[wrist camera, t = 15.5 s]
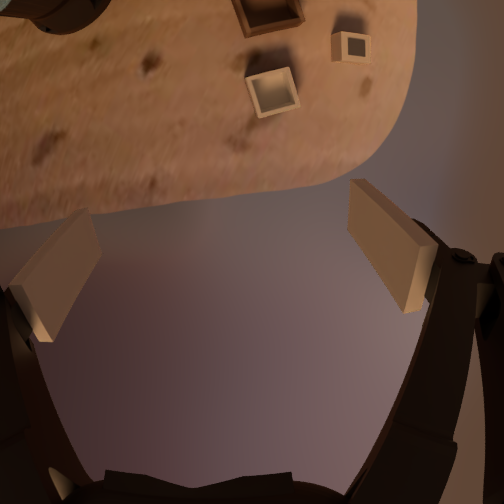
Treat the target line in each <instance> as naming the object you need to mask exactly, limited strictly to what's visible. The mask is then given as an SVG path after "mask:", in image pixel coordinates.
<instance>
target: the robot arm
mask: <svg viewBox="0 0 504 504" xmlns="http://www.w3.org/2000/svg"><path fill="white" fill-rule="evenodd" d="M110 1H111V0H0V16H6V17H16V18H25V19H30V21H31V22H32V23H33V24H34V25H35V26H36V27H37V28H38V29H40V30H41V31H43V32H46V33H49V34H55V35H66V34H71V33H74V32H77V31H79V30H81V29H83V28H85V27H86V26H88V25H89V24H91V23H92V22H93V21H94V20H96V19H97V18H98V17H99V16H100V15H101V14H102V13H103V11H104V10H105V9H106V7H107V6H108V5H109V3H110ZM347 229H348V231H349V233H350V234H351V235H352V237H353V238H354V239H355V241H356V242H357V244H358V245H359V247H360V248H361V250H362V251H363V253H364V254H365V256H366V257H367V258H368V260H369V261H370V263H371V264H372V266H373V267H374V269H375V270H376V272H377V273H378V275H379V276H380V278H381V279H382V281H383V282H384V284H385V285H386V287H387V289H388V290H389V291H390V293H391V295H392V296H393V298H394V300H395V301H396V303H397V304H398V306H399V308H400V309H401V311H402V312H403V314H404V313H409V312H414V311H418V310H421V307H422V304H423V301H424V297H425V298H426V299H427V300H428V302H429V303H430V305H429V308H428V311H427V313H426V317H425V319H424V322H423V325H422V330H421V333H420V337H419V339H418V343H417V345H416V348H415V352H414V354H413V357H412V360H411V362H410V365H409V368H408V371H407V373H406V376H405V378H404V381H403V383H402V385H401V388H400V390H399V393H398V395H397V398H396V400H395V402H394V404H393V407H392V409H391V411H390V413H389V416H388V418H387V420H386V422H385V424H384V426H383V428H382V430H381V432H380V434H379V437H378V438H377V440H376V442H375V444H374V446H373V448H372V450H371V452H370V454H369V455H368V457H367V459H366V461H365V463H364V464H363V466H362V468H361V469H360V471H359V473H358V474H357V476H356V477H355V479H354V481H353V482H352V484H351V485H350V487H349V488H348V490H347V492H346V493H345V495H342V494H340V493H338V492H336V491H334V490H331V489H329V488H327V487H324V486H320V485H317V484H313V483H307V482H300V481H293V479H292V473H291V472H285V473H277V474H269V475H268V474H267V475H256V476H242V477H239V478H235V479H232V480H228V481H224V482H220V483H216V484H212V485H207V486H203V487H199V488H187V487H184V486H180V485H176V484H173V483H169V482H166V481H163V480H160V479H156V478H153V477H150V476H148V475H143V474H132V473H125V472H118V471H111V470H106V471H105V476H104V480H100V481H95V482H94V481H93V480H92V479H91V478H90V477H89V476H88V474H87V473H86V472H85V470H84V468H83V466H82V464H81V463H80V461H79V459H78V457H77V455H76V453H75V451H74V449H73V447H72V445H71V443H70V441H69V438H68V436H67V434H66V432H65V430H64V428H63V425H62V423H61V421H60V418H59V416H58V414H57V411H56V409H55V407H54V404H53V401H52V399H51V396H50V393H49V391H48V388H47V385H46V382H45V380H44V377H43V374H42V371H41V368H40V365H39V361H38V358H37V355H36V352H35V348H34V344H33V343H32V341H31V339H30V338H29V336H30V334H31V332H32V331H33V332H34V334H35V335H36V337H37V338H38V340H39V341H40V342H53V341H54V339H55V337H56V335H57V333H58V331H59V329H60V328H61V326H62V324H63V322H64V320H65V318H66V316H67V314H68V312H69V310H70V309H71V306H72V305H73V303H74V301H75V299H76V298H77V296H78V294H79V292H80V291H81V289H82V287H83V285H84V284H85V282H86V280H87V278H88V277H89V275H90V273H91V272H92V270H93V268H94V267H95V265H96V263H97V262H98V260H99V259H100V257H101V255H102V252H101V249H100V246H99V243H98V240H97V237H96V233H95V230H94V227H93V224H92V220H91V217H90V213H89V210H88V208H83V209H78V210H75V211H74V212H73V213H72V214H71V215H70V216H69V217H68V218H67V219H66V220H65V221H64V223H62V225H60V227H59V228H58V229H57V230H56V231H55V232H54V233H53V234H52V235H51V236H50V237H49V238H48V239H47V240H46V241H45V243H44V244H43V245H42V246H41V247H40V248H39V249H38V250H37V252H36V253H35V254H34V255H33V256H32V257H31V258H30V260H29V261H28V262H27V263H26V264H25V265H24V267H23V268H22V269H21V270H20V271H19V273H18V274H17V275H16V276H15V278H14V279H13V280H12V281H11V283H10V284H9V285H8V288H7V289H6V291H5V292H3V290H2V288H1V286H0V504H438V503H439V501H440V499H441V496H442V494H443V491H444V489H445V486H446V483H447V481H448V478H449V475H450V472H451V470H452V467H453V464H454V461H455V457H456V453H457V443H456V442H454V441H453V434H454V431H455V427H456V423H457V420H458V416H459V412H460V408H461V404H462V399H463V395H464V391H465V386H466V381H467V375H468V370H469V364H470V358H471V351H472V344H473V335H474V329H475V334H476V339H477V346H478V351H479V359H480V366H481V375H482V384H483V396H484V411H485V470H484V471H485V472H484V486H483V487H484V488H483V504H504V253H499V252H498V253H495V254H494V255H493V257H492V260H491V263H490V264H482V263H478V262H477V259H476V258H475V256H474V255H472V254H471V253H469V252H468V251H465V250H463V249H458V248H449V247H448V246H447V245H446V244H445V243H444V242H443V241H442V240H441V239H440V238H439V237H438V236H436V235H435V234H434V233H433V232H432V231H430V229H429V228H428V227H427V226H425V225H424V224H423V223H421V222H419V221H417V220H416V219H411V218H410V217H409V216H408V215H406V214H405V213H404V212H403V211H402V210H401V209H400V208H398V207H397V206H396V205H395V204H394V203H393V202H392V201H391V200H389V199H388V198H387V197H386V196H385V195H384V194H382V193H381V192H380V191H379V190H378V189H376V188H375V187H374V186H373V185H371V184H370V183H369V182H368V181H367V180H365V179H350V197H349V214H348V228H347Z"/></svg>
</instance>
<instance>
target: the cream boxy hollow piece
mask: <svg viewBox="0 0 504 504" xmlns="http://www.w3.org/2000/svg"><path fill="white" fill-rule="evenodd" d="M331 52H332V62H340V63H350V64H358V65H360V64H371V36H370V35H364V34H358V33H352V32H343V31H340V32H338V33H335V34H332V35H331Z"/></svg>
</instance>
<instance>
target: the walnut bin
mask: <svg viewBox="0 0 504 504" xmlns="http://www.w3.org/2000/svg"><path fill="white" fill-rule="evenodd" d="M231 1H232V4H233V7H234V9H235V12H236V15H237V17H238V20H239V23H240V26H241V29H242V31H243V34H244V37H245V38H249V37H253V36H257V35H261V34H265V33H269V32H274V31H278V30H283V29H288V28H293V27H298V26H299V25H301V24H302V23H303V22H305V18H304V15H303V12H302V9H301V6H300V4H299V1H298V0H231Z"/></svg>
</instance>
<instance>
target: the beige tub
mask: <svg viewBox="0 0 504 504" xmlns="http://www.w3.org/2000/svg"><path fill="white" fill-rule="evenodd" d="M244 80H245V83H246V86H247V89H248V92H249V95H250V98H251V101H252V104H253V108H254V111H255V114H256V116H257V117H258V118H262V117H266V116H269V115H273V114H277V113H280V112H284V111H288V110H292V109H296V108H300V107H301V105H300V102H299V98H298V95H297V91H296V88H295V85H294V81H293V78H292V75H291V71H290V68H289V67H285V68H280V69H276V70H272V71H268V72H265V73H261V74H257V75H253V76H250V77H246V78H244Z"/></svg>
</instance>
